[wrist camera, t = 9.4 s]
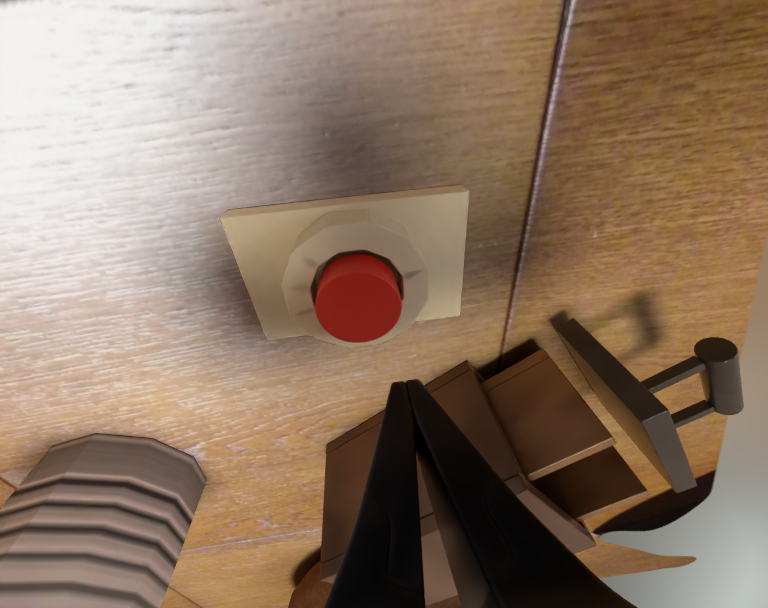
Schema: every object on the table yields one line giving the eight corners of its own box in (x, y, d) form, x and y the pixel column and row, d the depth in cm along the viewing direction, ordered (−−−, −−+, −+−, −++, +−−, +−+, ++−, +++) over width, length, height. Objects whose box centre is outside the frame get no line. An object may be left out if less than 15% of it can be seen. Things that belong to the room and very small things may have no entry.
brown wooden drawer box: (467, 360, 21) (527, 490, 14) (531, 428, 27) (597, 545, 20) (326, 445, 25) (318, 581, 18) (408, 489, 31) (427, 605, 24)
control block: (461, 184, 15) (485, 202, 12) (454, 304, 19) (470, 336, 16) (227, 209, 14) (202, 233, 12) (271, 327, 18) (259, 364, 16)
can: (29, 492, 24) (-185, 759, 15) (57, 413, 20) (-224, 721, 10) (180, 517, 29) (96, 732, 19) (229, 458, 25) (153, 698, 15)
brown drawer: (651, 271, 18) (795, 353, 12) (678, 364, 23) (788, 452, 17) (411, 411, 22) (433, 516, 17) (478, 461, 28) (512, 555, 22)
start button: (394, 248, 13) (400, 267, 12) (398, 315, 15) (403, 337, 14) (310, 258, 13) (306, 278, 12) (326, 324, 15) (324, 348, 14)
